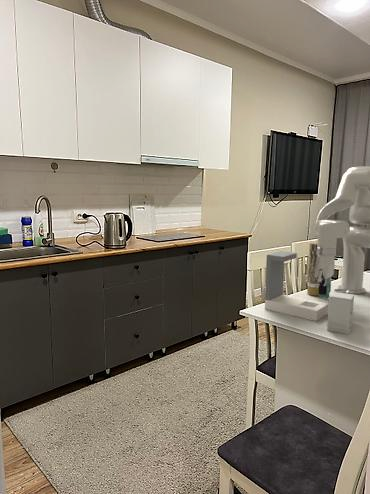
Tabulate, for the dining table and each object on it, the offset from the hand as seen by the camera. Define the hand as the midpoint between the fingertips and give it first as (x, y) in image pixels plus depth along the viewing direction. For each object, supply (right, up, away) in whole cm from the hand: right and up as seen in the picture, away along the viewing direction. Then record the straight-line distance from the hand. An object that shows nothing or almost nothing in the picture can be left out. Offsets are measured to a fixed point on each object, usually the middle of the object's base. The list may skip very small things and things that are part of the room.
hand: (324, 292), depth 161 cm
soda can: (-1, -9, -19) cm, 21 cm away
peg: (0, -2, 0) cm, 2 cm away
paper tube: (+2, -3, +17) cm, 17 cm away
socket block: (-15, -7, -7) cm, 18 cm away
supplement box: (-5, -10, -27) cm, 29 cm away
